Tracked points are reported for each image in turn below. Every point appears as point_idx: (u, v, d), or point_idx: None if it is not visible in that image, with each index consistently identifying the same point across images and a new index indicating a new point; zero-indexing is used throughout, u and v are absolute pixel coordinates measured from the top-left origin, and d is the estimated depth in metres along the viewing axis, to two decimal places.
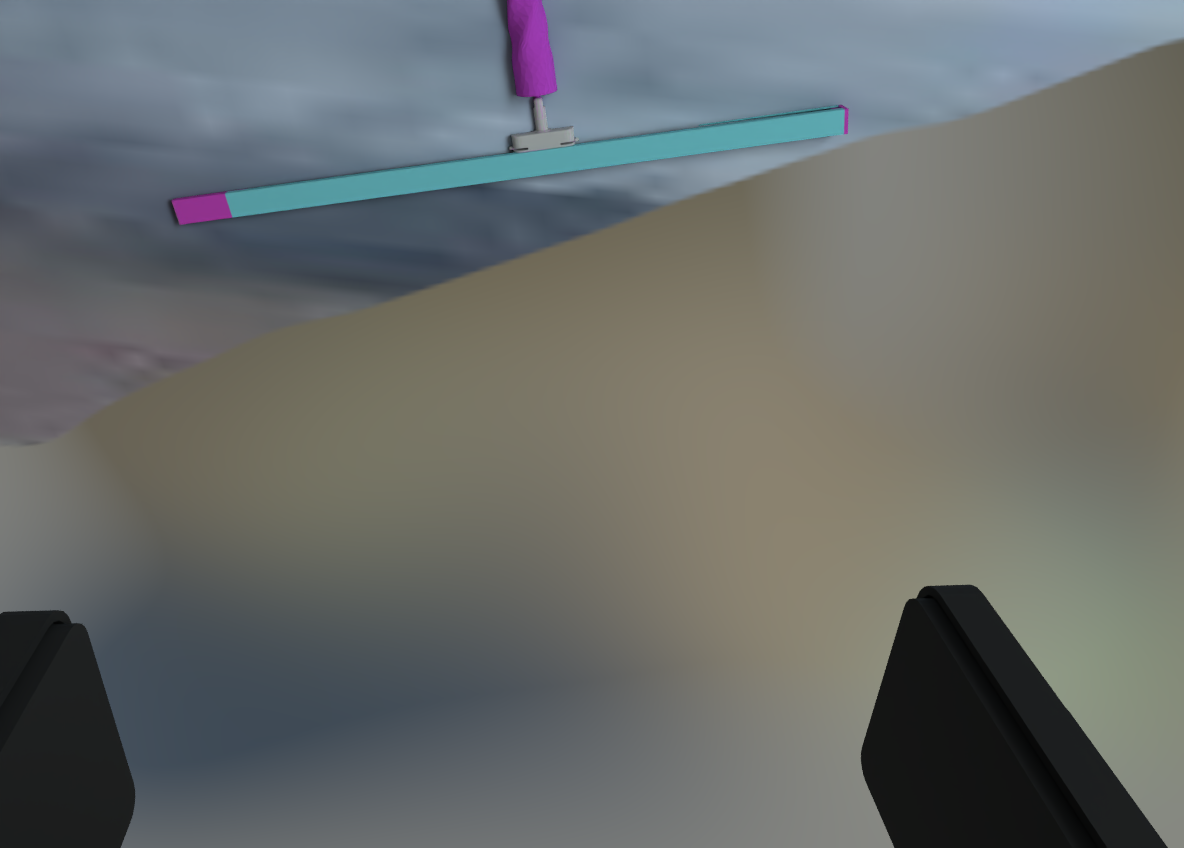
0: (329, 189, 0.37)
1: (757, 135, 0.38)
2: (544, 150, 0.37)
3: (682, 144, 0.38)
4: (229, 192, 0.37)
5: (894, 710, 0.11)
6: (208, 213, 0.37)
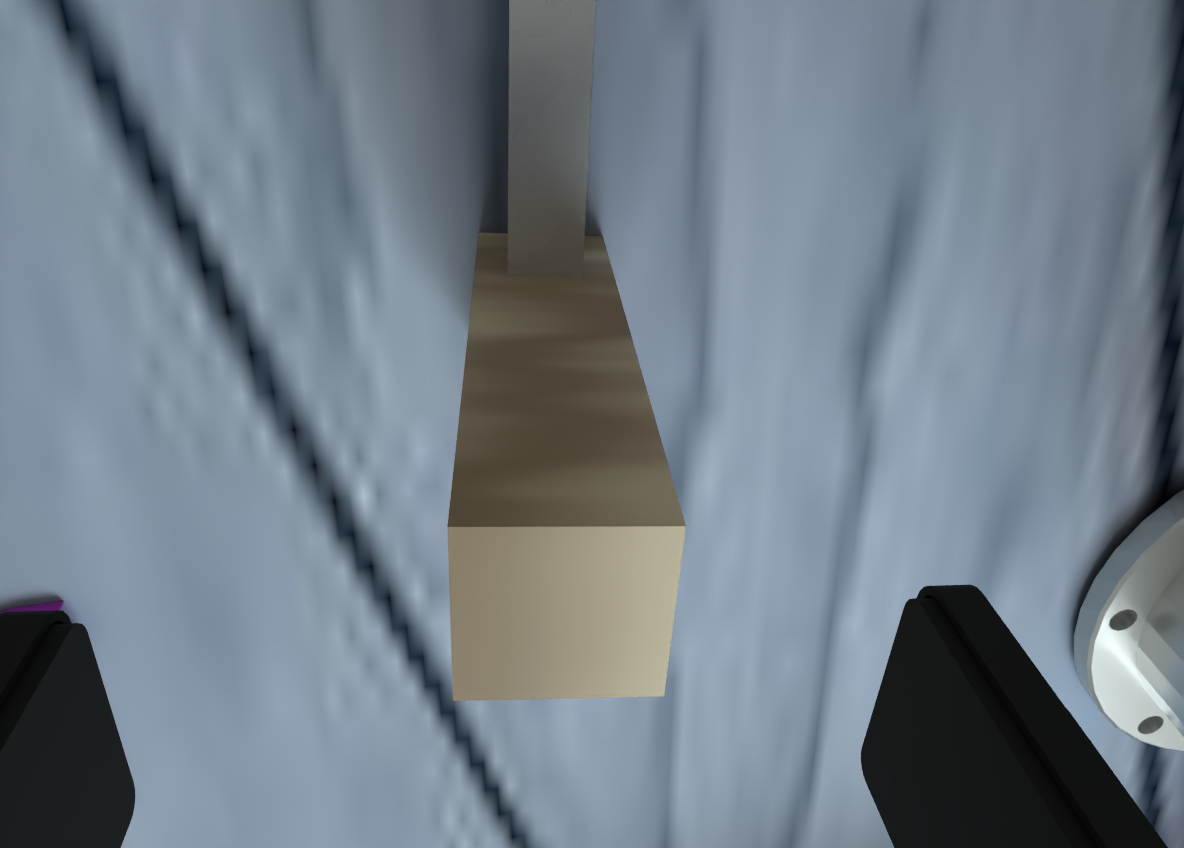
0: None
1: None
2: None
3: None
4: None
5: (894, 710, 0.11)
6: None
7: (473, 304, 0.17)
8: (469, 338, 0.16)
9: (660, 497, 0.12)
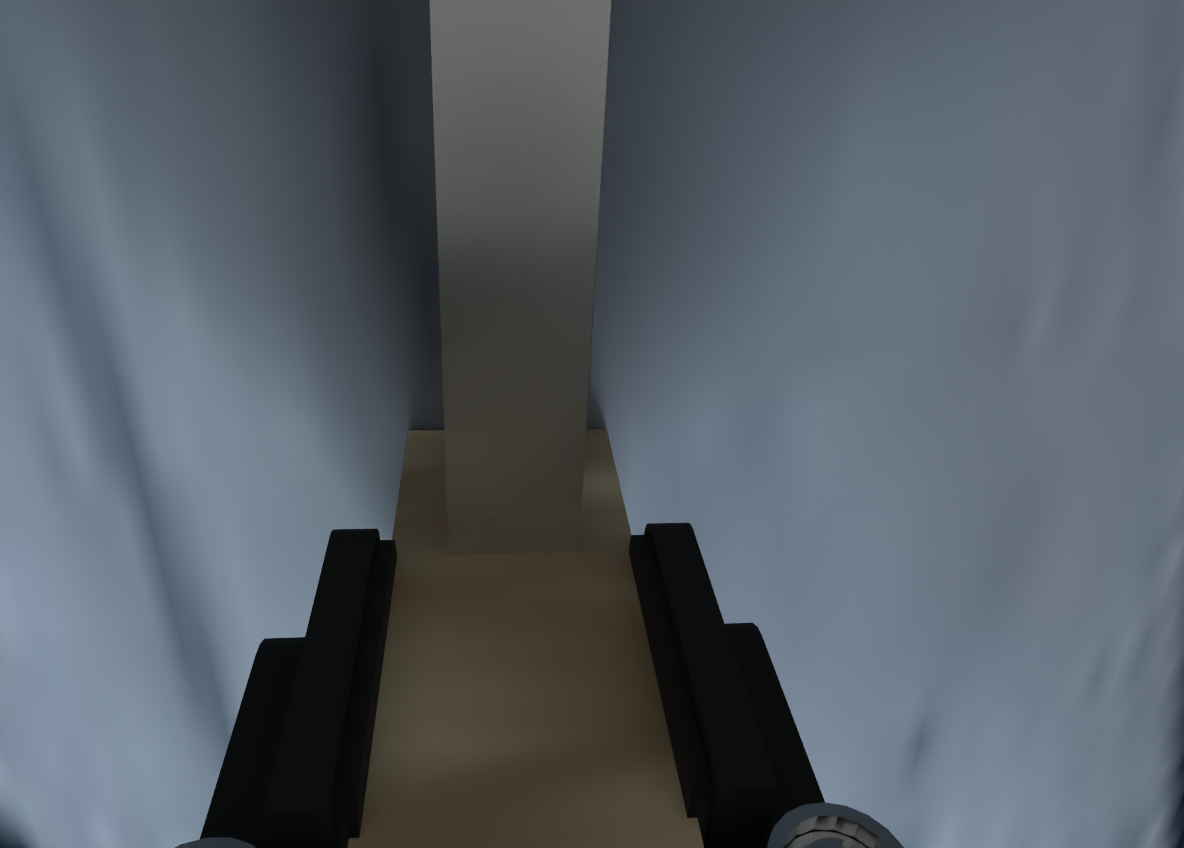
0: None
1: None
2: None
3: None
4: None
5: None
6: None
7: None
8: None
9: None
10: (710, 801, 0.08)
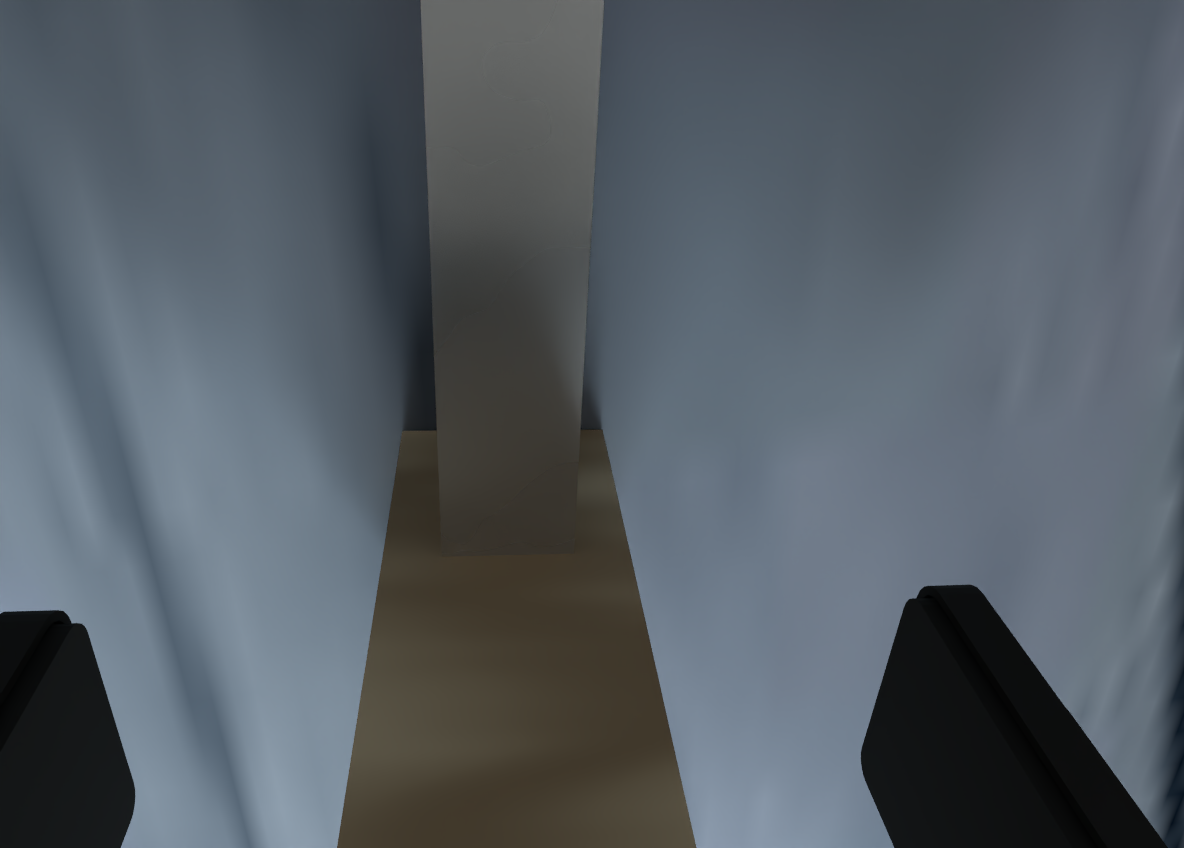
0: None
1: None
2: None
3: None
4: None
5: (894, 710, 0.11)
6: None
7: (371, 656, 0.09)
8: (350, 789, 0.08)
9: None
10: None
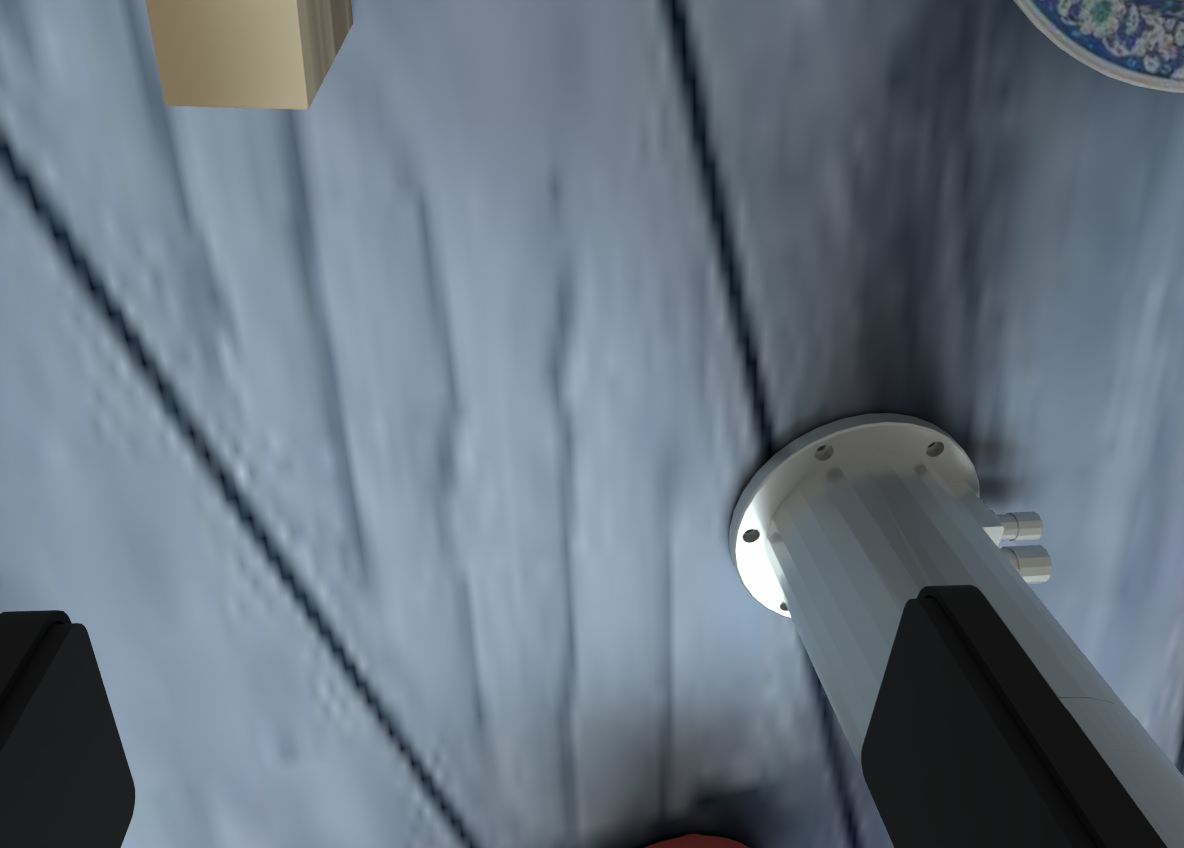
0: None
1: None
2: None
3: None
4: None
5: (894, 710, 0.11)
6: None
7: None
8: None
9: None
10: None
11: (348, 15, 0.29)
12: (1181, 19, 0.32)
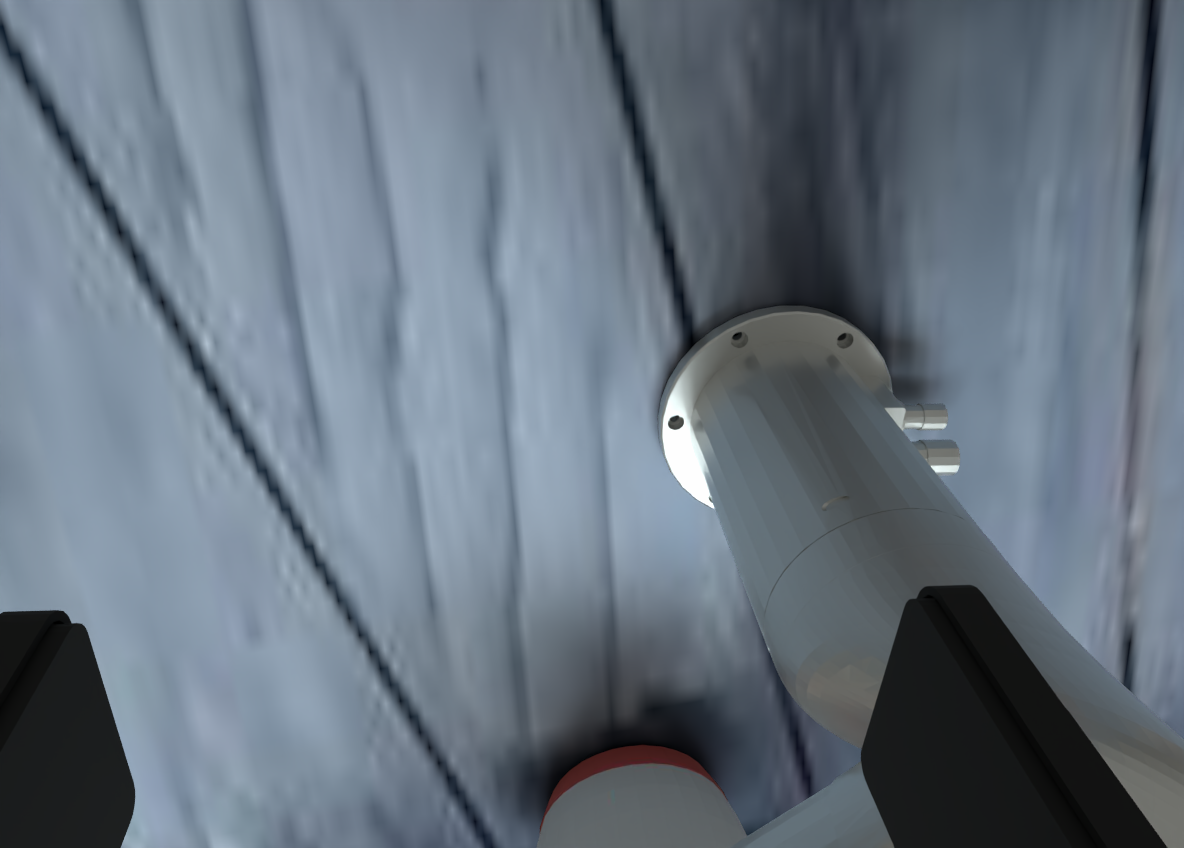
0: None
1: None
2: None
3: None
4: None
5: (894, 710, 0.11)
6: None
7: None
8: None
9: None
10: None
11: None
12: None
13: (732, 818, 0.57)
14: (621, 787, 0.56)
